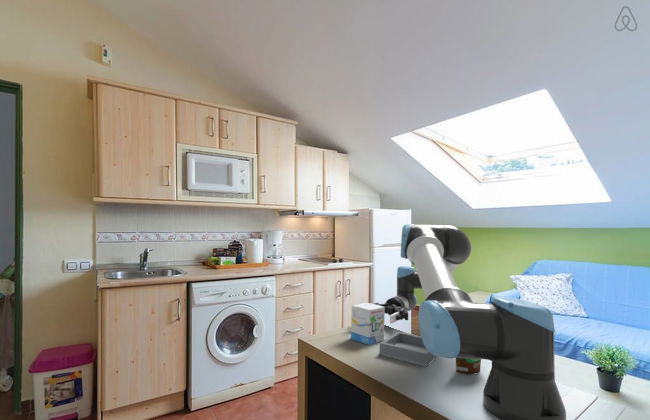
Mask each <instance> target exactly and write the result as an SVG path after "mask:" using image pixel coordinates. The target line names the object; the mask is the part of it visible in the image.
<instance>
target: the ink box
mask: <svg viewBox="0 0 650 420" xmlns="http://www.w3.org/2000/svg"><path fill="white" fill-rule="evenodd" d="M385 314H386V313H385V307H383V306H379V305H376V304H374V303H371V302H362V303H359V304H354V305H353V304H352V305H351V317H350V318H351V322H350V323H351V324H350V339H351V340H353V341H356V342H359V343H362V344H365V345H367V346H370V345H374V344H377V343H380V342H382V341H384V340H385Z"/></svg>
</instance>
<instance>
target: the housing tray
mask: <svg viewBox="0 0 650 420" xmlns="http://www.w3.org/2000/svg"><path fill="white" fill-rule="evenodd" d="M378 353H379V356H382V357H386V358H391V359H395V360H399V361H403V362H405V363H410V364H415V365H417V364H419V366H421V365H422V366H421V367H429V365H430V364H431V363H432V362H433V361H434V360H435V359H436V358H437V357H436V356H435V355H432V354H431V353H430V352H429V351H428V350H427V349H426V347H425V345H424V343H423V341H422V337H421V335H420V336H419V335H415V334H411V333H406V332H401V331H397V332H395V333H394V334H392V335H391V336H388V337H387V338H384V340H383V341H380V342H379V352H378ZM435 357H436V358H435ZM434 358H435V359H434ZM433 359H434V360H433ZM432 360H433V361H432ZM431 361H432V362H431ZM430 362H431V363H430ZM429 363H430V364H429ZM428 364H429V365H428Z"/></svg>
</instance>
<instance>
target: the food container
mask: <svg viewBox="0 0 650 420" xmlns="http://www.w3.org/2000/svg"><path fill="white" fill-rule="evenodd" d="M481 364H482V359H464V358H455V372H456V373H457V372H458V374H462V373H463V374H464V375H475V373H477V374H478V372H479V373H480V372H481Z"/></svg>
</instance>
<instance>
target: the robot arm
mask: <svg viewBox="0 0 650 420" xmlns="http://www.w3.org/2000/svg"><path fill="white" fill-rule="evenodd" d="M400 237H401V238H400V258H402V259H405V260H406V259H408V262H410V263H411V265H413V266H414V267H413V266H408V265H403V266H402V265H401V266H399V267H397V270H396V271H397V272H396V295H395V296H393V297H391V298H388V299H387V300H386V301H385V302H384V303H379V302H373V304H376V305H379V306H383V307H385V314H387V315H388V316H389V324H394V323H396V322H398V321H402V320H405V321H409V311H412V310H413V309H414V308H416V306H417V305H418V298H417V295H415V289H416V290H417V289H419V290H422V291H423V295H424V298H425V299H424V301H422V302H421V303H420V305H419V308H418V314H417V315H418V316H417V317H418V326H419V329H420V330H419V333H420V336H421V337H422V341H423V343H424V345H425V347H426V349H427V350H428V351H429V352H430V353H431V354H432V355H435V356H437V357H442V358H446V359H456V358H464V359H481V360H490V361H491V369H490V371H489V374H488V377H487V380H486V383H485V385H484V388H483V391H482V393H483V394H482V396H483V398H482V400H483V401H482V402H483V405H484V406H485V408H486V409H487V410H488V411H489V412H490V413H491V414H493V415H494V416H496V417H497V418H499V419H501V420H567V411H566V408H565V405H564V402H563V400H562V397H561V394H560V391H559V388H558V385H557V382H556V378H555V377H556V375H555V364H556V363H555V332H556V330H555V323H554V315H553V313H552V311H551V310H550V309H549V308H548V307H546V306H543V305H541V304H539V303H534V302H532V301H528V300H523V299H519V298H514V297H507V296H499V295H493V296H492V297H491V298H490V300H489V301H490V303H489V302H487V303H485V302H473V300H472V299H471V296H469V294H468V293H467V291H464V290H462V289H461V288H459V287H458V285H457V282H456V280H455V278H454V277H453V275H452V274H453V273H454V271H455V270H456V269H457V268H458V266H459V265H461V264H463V263H465V262H466V261H467V260H468V258H469V257H470V255H471V252H472V244H471V240H470V239H469V236H468V235H467V234H466V233H465V232H464V231H463V230H462V229H460V228H458V227H456V226H454V225H449V224H415V223H411V224H408V223H407V224H404V225H403V226H402V229H401V236H400ZM415 269H416V270H415Z"/></svg>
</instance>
